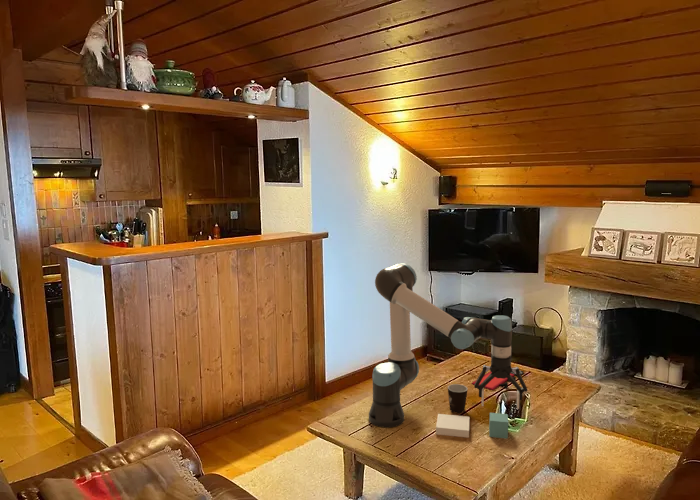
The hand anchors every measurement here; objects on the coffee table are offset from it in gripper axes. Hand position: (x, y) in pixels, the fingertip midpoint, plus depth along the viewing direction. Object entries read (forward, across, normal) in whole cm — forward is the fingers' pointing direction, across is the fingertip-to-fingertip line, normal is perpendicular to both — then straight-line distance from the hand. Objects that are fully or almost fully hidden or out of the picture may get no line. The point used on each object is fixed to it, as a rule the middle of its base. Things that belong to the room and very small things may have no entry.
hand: (500, 406), depth 217 cm
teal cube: (+12, 0, 0) cm, 12 cm away
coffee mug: (+12, -18, +20) cm, 29 cm away
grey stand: (+12, -18, 0) cm, 22 cm away
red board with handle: (+12, +2, +57) cm, 58 cm away
